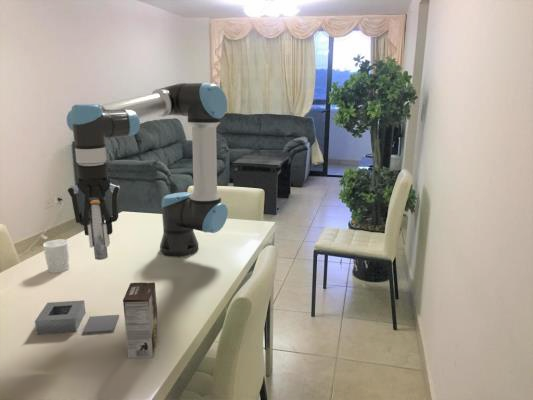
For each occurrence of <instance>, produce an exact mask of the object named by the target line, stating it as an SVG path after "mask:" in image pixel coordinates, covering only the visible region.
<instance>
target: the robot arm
mask: <svg viewBox="0 0 533 400" xmlns="http://www.w3.org/2000/svg"><path fill="white" fill-rule="evenodd" d="M227 109H228V100H227V96H226V94H225V92H224V90H223V89H222V87H221V86H219V85H218V84H214V83H209V82H202V83H199V82H195V83H193V82H192V83H191V82H190V83H189V82H187V83H186V82H183V83H175V84H172V85H169V86H165V87H161V88H158V89H157V88H156V89H154V90H153V91H152V92H151V93H148V94H143V95H138V96H135V97H130V98H126V99H120V100H117V101H112V102H107V103H104V104H98V103H79V104H78V103H76V104H73V105H72V106H71V109H70V111H69V112H68V113H67V115H66V124H67V127H68V128H69V131H72V133H73V141H74V150H75V161H76V163H77V165H76V169H77V178H78V180H77V183H76V185H73V186H70V187H68V189H67V192H68V194H69V196H70V197H71V202H72V207H73V212H74V218H75V222H76V223H77V224H82V225H83V229H84V235H85V236H88V242H89V249H90V248H94V244H93V234H92V225H91V215H90V201H91V200H93V198H98V199H97V200H99V201H100V204H101V207H102V211H103V214H104V224H103V228H104V238H105V247H107V248H108V247H109V245H110V243H111V238H110V235H112V233H113V223H114V222H117V221H118V219H119V192H120V190H121V186H120V185H119V184H118V185H115V184H112V183H111V180H110V179H109V171H108V163H106V162H107V158H108V157H107V149H106V140H108V139H115V138H128V137H130V136H134V135H136V134H138V132H139V131H140V127H141V125H140V124H141V122H140V121H142V120H146V119H149V118H152V117H153V118H154V117H156V116H159V117H162V118H163V117H167V116H180V117H181V116H182V117H187V123H188V125H190V126H191V131H192V132H191V134H192V135H191V136H192V138H191V139H192V141H191V142H192V174H193V175H192V176H193V192H192V193H191V192H188V191H183V192H174V193H168V194H167V195H165V196H163V197H162V198H161V216H162V227H163V234H162V237H161V241H160V245H159V253H161V254H162V255H164V256H166V257H171V258H173V257H176V258H179V257H186V256H191V255H194V254H195V253H196V252H198V251H199V242H198V239H197V236H196V234H195V231H200V232H204V233H211V234H215V233H218V232H220V231H221V229H222V228H224V225H225V224H226V222H227V220H228V215H229V214H228V213H229V210H228V207H227V205H226V204H225V203H224V202H222V195H221V194H220V193H219V192H218V181H217V180H218V177H217V176H218V174H217V173H218V171H217V170H218V167H217V161H218V159H217V152H218V151H217V127H218V126H219V125H220V124H221V119H222V118H223V117H224V116H225V115H226V112H227ZM109 189H110V192H111V193H112V194H111V202H112V203H111V208H112V209H111V211H110V208H109V204H108V200H107V195H106V193H107V191H108V190H109ZM79 190H80V191H81V192H82V194H83V195H84V205H83V206H84V209H83V213H82V206H81V202H80V196H79V192H80V191H79ZM194 230H195V231H194Z"/></svg>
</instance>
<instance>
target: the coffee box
mask: <svg viewBox="0 0 533 400" xmlns="http://www.w3.org/2000/svg"><path fill="white" fill-rule="evenodd" d="M122 302H123V303H122V305H123V313H124V315H123V316H124V325H125V335H126V347H127V357H128V359H145V358H146V359H149V358H151V359H152V358H154V357H155V353H156V349H157V346H158V342H159V338H160V331H159V320H158V306H157V292H156V282H141V281H140V282H130V283H129V286H128V288H127V290H126V293H125V295H124V297H123V299H122Z"/></svg>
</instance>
